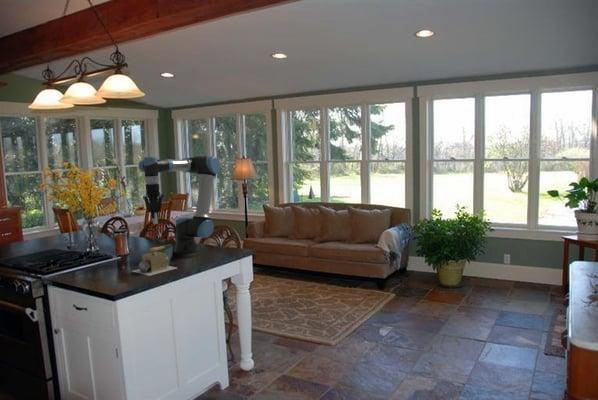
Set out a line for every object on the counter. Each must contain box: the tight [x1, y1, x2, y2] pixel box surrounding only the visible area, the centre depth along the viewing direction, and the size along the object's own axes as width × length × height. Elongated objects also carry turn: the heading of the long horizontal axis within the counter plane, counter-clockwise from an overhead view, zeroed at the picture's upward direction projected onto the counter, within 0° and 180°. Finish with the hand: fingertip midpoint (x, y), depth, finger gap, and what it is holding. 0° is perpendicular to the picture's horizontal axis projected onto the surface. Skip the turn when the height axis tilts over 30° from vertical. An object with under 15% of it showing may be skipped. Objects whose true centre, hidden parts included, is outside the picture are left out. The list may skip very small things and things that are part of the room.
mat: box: [131, 265, 178, 277], centre depth 273 cm, size 18×19×1 cm
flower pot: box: [156, 246, 174, 260], centre depth 292 cm, size 9×9×9 cm
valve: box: [137, 251, 171, 273], centre depth 272 cm, size 9×18×11 cm, turn 140°
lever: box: [148, 243, 174, 253], centre depth 275 cm, size 14×4×1 cm, turn 141°
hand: (155, 223), depth 278 cm, fingers closed
